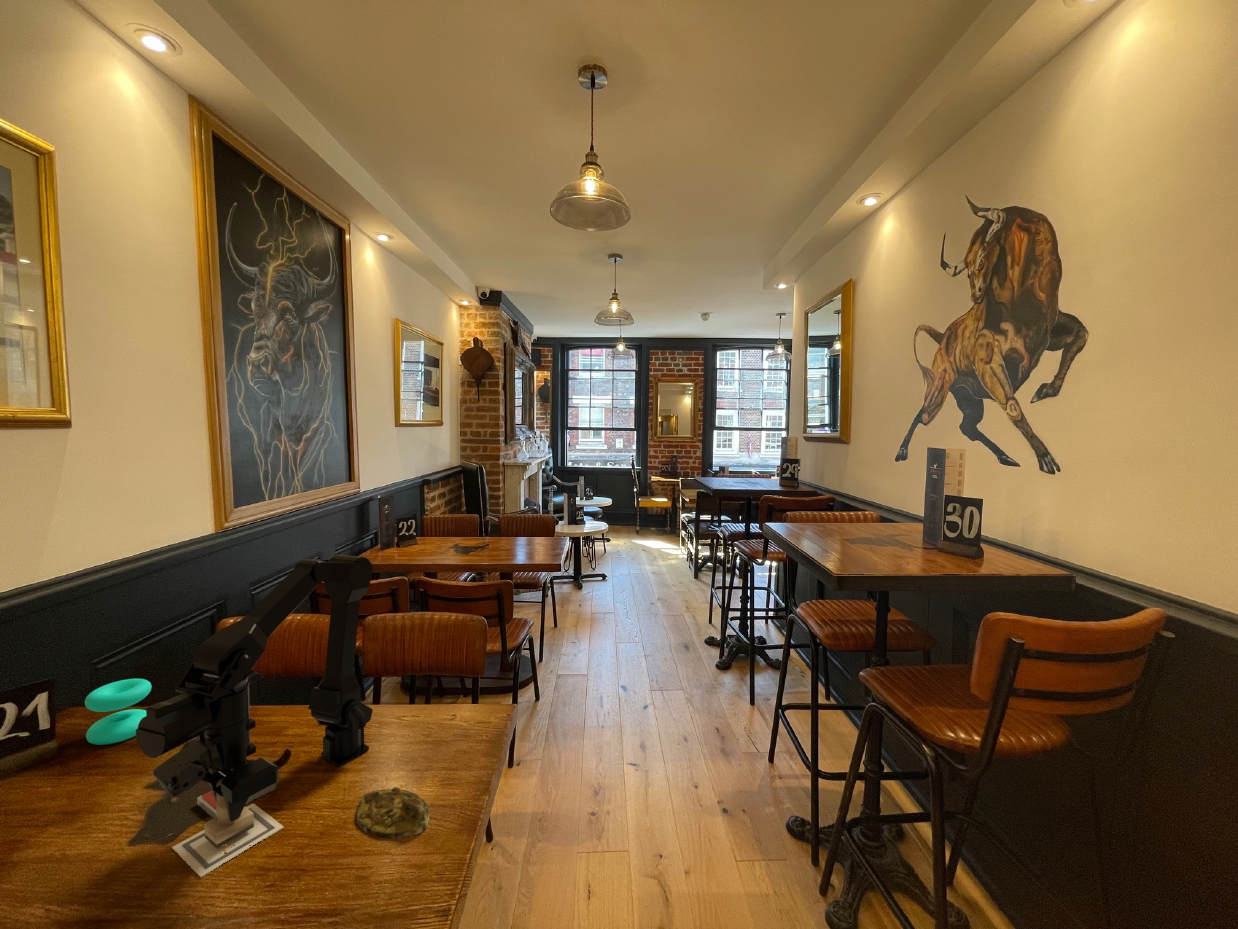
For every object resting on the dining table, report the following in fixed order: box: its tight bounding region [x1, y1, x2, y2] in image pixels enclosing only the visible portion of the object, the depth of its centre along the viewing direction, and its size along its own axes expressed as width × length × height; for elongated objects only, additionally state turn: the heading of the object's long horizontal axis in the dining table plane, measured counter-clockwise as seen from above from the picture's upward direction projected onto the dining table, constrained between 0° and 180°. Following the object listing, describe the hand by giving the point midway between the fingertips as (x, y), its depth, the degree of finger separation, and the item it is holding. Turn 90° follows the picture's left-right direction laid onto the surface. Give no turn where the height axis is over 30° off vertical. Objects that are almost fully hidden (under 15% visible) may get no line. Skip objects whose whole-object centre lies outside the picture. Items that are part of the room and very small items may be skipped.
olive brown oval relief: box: [356, 787, 430, 840], centre depth 85 cm, size 9×5×15 cm
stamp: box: [203, 778, 254, 848], centre depth 80 cm, size 5×4×8 cm
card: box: [171, 803, 285, 879], centre depth 80 cm, size 11×10×1 cm
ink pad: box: [196, 782, 277, 819], centre depth 89 cm, size 9×7×2 cm
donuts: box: [84, 678, 152, 746], centre depth 107 cm, size 10×10×10 cm
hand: (229, 815), depth 80 cm, fingers closed on stamp, 3 cm apart
